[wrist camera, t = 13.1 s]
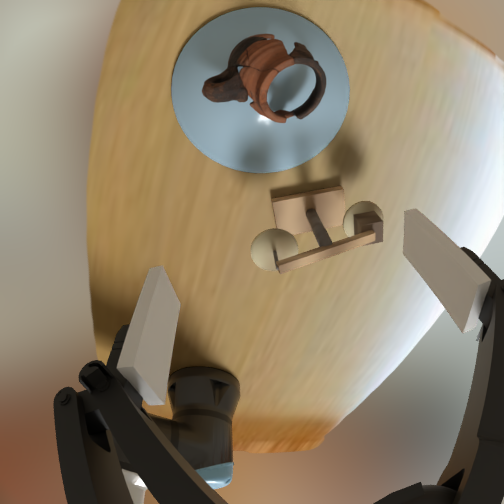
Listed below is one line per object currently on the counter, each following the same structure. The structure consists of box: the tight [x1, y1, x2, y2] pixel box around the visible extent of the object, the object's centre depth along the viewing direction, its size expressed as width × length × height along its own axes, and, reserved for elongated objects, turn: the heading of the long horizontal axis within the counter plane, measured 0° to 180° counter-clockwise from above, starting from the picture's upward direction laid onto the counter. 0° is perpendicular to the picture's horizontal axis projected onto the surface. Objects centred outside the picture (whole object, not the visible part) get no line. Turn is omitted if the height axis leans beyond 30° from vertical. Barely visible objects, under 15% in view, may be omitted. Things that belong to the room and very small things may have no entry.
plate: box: [171, 7, 350, 173], centre depth 30 cm, size 20×20×1 cm
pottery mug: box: [202, 34, 326, 123], centre depth 27 cm, size 12×10×8 cm
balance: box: [251, 186, 383, 274], centre depth 34 cm, size 16×5×11 cm, turn 102°
